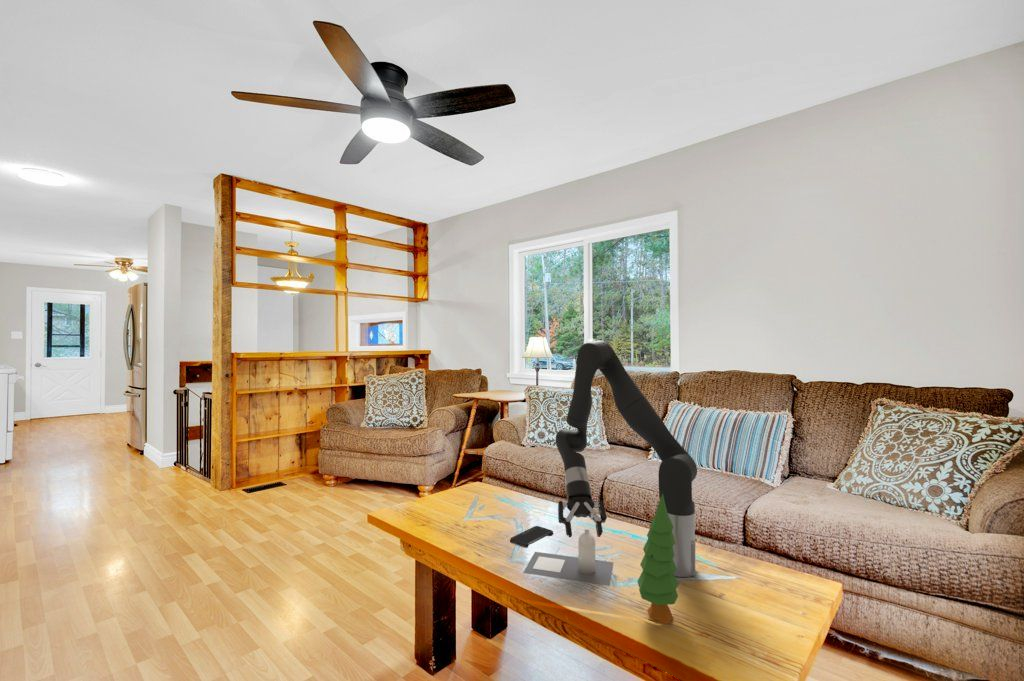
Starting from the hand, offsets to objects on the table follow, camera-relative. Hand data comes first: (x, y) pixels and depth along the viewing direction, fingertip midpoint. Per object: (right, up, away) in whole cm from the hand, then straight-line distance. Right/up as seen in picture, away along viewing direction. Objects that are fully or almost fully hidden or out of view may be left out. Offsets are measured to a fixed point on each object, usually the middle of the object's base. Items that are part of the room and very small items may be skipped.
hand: (585, 536), depth 138 cm
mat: (-5, -9, -1) cm, 10 cm away
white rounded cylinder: (0, -9, -3) cm, 9 cm away
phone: (-15, -10, +22) cm, 28 cm away
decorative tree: (+13, -9, -24) cm, 29 cm away
